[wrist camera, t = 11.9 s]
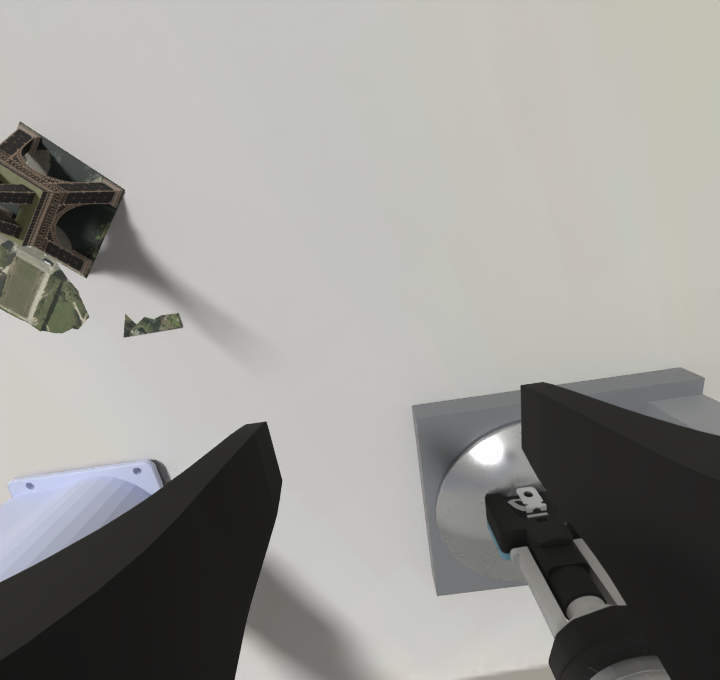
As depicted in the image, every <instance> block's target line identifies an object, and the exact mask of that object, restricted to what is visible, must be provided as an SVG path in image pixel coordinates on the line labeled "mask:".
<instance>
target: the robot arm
mask: <svg viewBox="0 0 720 680" xmlns="http://www.w3.org/2000/svg"><path fill="white" fill-rule="evenodd" d="M521 446H522V450H523V452H524V454H525V456H526V458H527V459H528V461H529V463H530V465H531V467H532V469H533V470H534V472H535V474H536V476H537V477H538V479H539V481H540V482H541V484H542V485H543V486H544V488H545V489H546V491H547V492H548V493H549V495H550V496H551V497H552V499H553V500H554V502H555V503H556V504H557V506H558V507H559V508H560V510H561V511H562V512H563V514H564V515H565V516H566V518H567V519H568V520H569V522H570V523H571V524H572V526H573V527H574V529H575V530H576V531H577V533H578V534H579V535H580V537H581V538H582V539H583V541H584V542H585V543H586V545H587V546H588V547H589V549H590V550H591V551H592V553H593V554H594V555H595V557H596V558H597V560H598V561H599V563H600V564H601V566H602V567H603V568H604V570H605V571H606V573H607V574H608V576H609V577H610V579H611V580H612V582H613V584H614V585H615V587H616V588H617V590H618V592H619V593H620V595H621V597H622V598H623V600H624V601H625V603H626V605H627V606H628V608H629V610H630V611H631V613H632V615H633V616H634V618H635V619H636V621H637V623H638V624H639V626H640V628H641V629H642V631H643V633H644V635H645V636H646V638H647V640H648V641H649V643H650V645H651V647H652V648H653V650H654V652H655V653H656V655H657V657H658V658H659V660H660V662H661V664H662V665H663V667H664V669H665V670H666V672H667V674H668V676H669V677H670V679H671V680H720V436H719V435H715V434H710V433H706V432H702V431H698V430H695V429H691V428H687V427H683V426H680V425H676V424H673V423H670V422H666V421H663V420H660V419H656V418H653V417H650V416H646V415H643V414H640V413H637V412H634V411H631V410H628V409H625V408H622V407H619V406H616V405H613V404H610V403H607V402H604V401H601V400H598V399H595V398H592V397H589V396H587V395H584V394H581V393H578V392H575V391H572V390H569V389H566V388H563V387H560V386H556V385H553V384H549V383H545V382H540V383H533V384H526V385H521ZM137 468H139V469H140V470H138V469H137ZM281 487H282V478H281V474H280V470H279V466H278V463H277V459H276V455H275V451H274V448H273V444H272V440H271V437H270V433H269V429H268V425H267V422H260V423H253V424H246V425H244V426H243V427H241V428H239V429H238V430H237V431H235V432H234V433H232V434H231V435H230V436H229V437H227V438H226V439H225V440H223V441H222V442H221V443H220V444H218V445H217V446H216V447H215V448H213V449H212V450H211V451H209V452H208V453H207V454H206V455H204V456H203V457H202V458H201V459H199V460H198V461H197V462H196V463H194V464H193V465H192V466H190V467H189V468H188V469H186V470H185V471H184V472H182V473H181V474H180V475H178V476H177V477H176V478H174V479H173V480H171V481H170V482H169V483H167V484H166V485H165V486H164V485H163V483H162V480H161V478H160V475H159V472H158V470H157V467H156V465H155V464H154V463H153V462H152V461H150V460H142V461H134V462H127V463H120V464H113V465H106V466H99V467H92V468H85V469H77V470H70V471H63V472H56V473H49V474H42V475H35V476H28V477H20V478H15V479H13V480H12V481H11V482H9V483H8V490H9V491H10V493H11V495H12V497H11V498H10V499H9V500H8V501H6V502H5V503H4V504H2V505H1V506H0V680H235V675H236V669H237V664H238V660H239V655H240V650H241V645H242V640H243V635H244V630H245V625H246V621H247V617H248V613H249V609H250V605H251V601H252V598H253V594H254V591H255V588H256V584H257V581H258V578H259V574H260V571H261V568H262V564H263V561H264V558H265V554H266V551H267V548H268V544H269V541H270V538H271V534H272V531H273V527H274V524H275V520H276V517H277V512H278V506H279V500H280V494H281Z"/></svg>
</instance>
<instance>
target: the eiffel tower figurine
mask: <svg viewBox="0 0 720 680" xmlns="http://www.w3.org/2000/svg"><path fill="white" fill-rule="evenodd" d="M124 192H125V190H124V189H123V188H121V187H120V186H118V185H117V184H115V183H114V182H112V181H111V180H109V179H107V178H106V177H104V176H103V175H101V174H100V173H98V172H97V171H95V170H94V169H92V168H91V167H89V166H88V165H86V164H85V163H83V162H81V161H80V160H78V159H77V158H75V157H74V156H72V155H71V154H69V153H68V152H66V151H65V150H63V149H62V148H60V147H58V146H57V145H55V144H54V143H52V142H51V141H49V140H48V139H46V138H45V137H43V136H42V135H40V134H39V133H37V132H35V131H34V130H32V129H31V128H29V127H28V126H26V125H25V124H23V123H22V122H20V123H19V125H18V127H17V130H16V131H15V132H14V133H13V134H11V135H10V136H9V137H8V138H7V139H6V140H4V141H3V142H2V143H1V144H0V309H2V310H3V311H5V312H7V313H9V314H11V315H13V316H15V317H17V318H19V319H21V320H23V321H25V322H27V323H29V324H30V325H32V326H33V327H35V328H36V329H38V330H39V331H48V332H53V333H64V332H66V331H68V330H70V329H72V328H73V329H79V328H80V327H81V325H82V324H83V323H84V322H85V321H86V320H87V319H88V318H89V315H88V313H87V311H86V309H85V306H84V304H83V302H82V300H81V298H80V296H79V292H78V290H77V289H76V288H75V287H74V286H73V284H72V283H71V282H70V281H69V280H68V278H67V277H66V276H65V274H64V273H63V272H62V270H61V269H60V267H59V266H58V264H57V262H59V263H61V264H63V265H64V266H66V267H68V268H69V269H71V270H73V271H75V272H76V273H78V274H80V275H81V276H83V277H85V278H86V279H87V276H88V274H89V272H90V269H91V267H92V265H93V263H94V260H95V258H96V256H97V253H98V251H99V249H100V247H101V244H102V242H103V240H104V237H105V235H106V233H107V231H108V228H109V226H110V224H111V221H112V219H113V217H114V215H115V212H116V210H117V208H118V206H119V203H120V201H121V199H122V196H123V194H124ZM55 260H56V261H57V262H56V261H55ZM179 327H182V325H181V321H180V317H179V313H176V314H168V315H161V316H159V317H158V318H156V319H150V318H146V317H144V318H143V319H142V320H141V321H140V322H139V323H138V324H137V325H136V324H135V323H134V322H133V321H132V320H131V319H130V318H129V317H128V316H127V315H126V314H125V326H124V337H129V336H135V335H140V334H145V333H151V332H156V331H162V330H167V329H173V328H179Z"/></svg>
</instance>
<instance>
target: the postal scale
mask: <svg viewBox="0 0 720 680" xmlns="http://www.w3.org/2000/svg"><path fill="white" fill-rule="evenodd" d="M704 380H705V378H704V377H702V376H699V375H697V374H695V373H692V372H690V371H688V370H685V369H683V368H674V369H667V370H660V371H653V372H646V373H639V374H632V375H625V376H618V377H611V378H604V379H597V380H590V381H582V382H575V383H568V384H561V385H556V386H560V387H563V388H566V389H569V390H572V391H575V392H578V393H581V394H584V395H587V396H589V397H592V398H595V399H598V400H601V401H604V402H607V403H610V404H613V405H616V406H619V407H622V408H625V409H628V410H631V411H634V412H637V413H640V414H643V415H646V416H650V417H653V418H656V419H660V420H663V421H666V422H670V423H673V424H676V425H680V426H683V427H687V428H691V429H695V430H698V431H702V432H706V433H710V434H715V435H719V436H720V402H718V401H716V400H714V399H711V398H709V397H707V396H705V395H703V394H702V393H703V386H704ZM412 410H413V418H414V427H415V435H416V443H417V451H418V460H419V468H420V476H421V484H422V492H423V501H424V509H425V517H426V525H427V534H428V542H429V550H430V558H431V567H432V575H433V580H434V584H435V589H436V593H437V596H441V595H450V594H458V593H466V592H474V591H482V590H491V589H499V588H507V587H515V586H524V585H528V583H527V581H526V579H525V577H524V575H523V573H522V571H521V568H520V567H515V566H514V565H513V563H512V561H511V560H510V561H508V560H504V559H502V557H501V556H500V554H499V552H498V549H497V547H496V545H495V542H494V540H493V538H492V536H491V533H490V531H489V529H488V527H487V518H486V507H485V496H487V495H491V494H499V495H501V496H502V497H510V496H516V495H518V494H517V493H516V490H517V489H518V488H524V487H533V488H535V489H536V491H537V492H542V491H546V489H545V488H544V486H543V485H542V484H541V482H540V481H539V479H538V477H537V476H536V474H535V472H534V470H533V469H532V467H531V465H530V463H529V461H528V459H527V458H526V456H525V454H524V452H523V450H522V446H521V390H519V391H512V392H505V393H498V394H491V395H484V396H477V397H470V398H463V399H456V400H449V401H442V402H435V403H428V404H421V405H414V406H412ZM529 493H530V492H525V493H524V494H529Z"/></svg>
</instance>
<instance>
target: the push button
mask: <svg viewBox="0 0 720 680" xmlns="http://www.w3.org/2000/svg"><path fill="white" fill-rule="evenodd" d="M525 492H530V493H529V494H524V493H525ZM516 493H517V494H518V495H516V496H510V497H502V496H501V495H499V494H491V495H487V496H485V507H486V518H487V527H488V529H489V531H490V533H491V536H492V538H493V540H494V542H495V545H496V547H497V549H498V552H499V554H500V556H501V557H502V559H504V560H508V561H510V560H511V561H512V563H513V565H514V566H515V567H520V568H521V571H522V573H523V575H524V577H525V579H526V581H527V583H528V585H529V587H530V589H531V591H532V593H533V595H534V597H535V600H536V602H537V604H538V606H539V608H540V610H541V612H542V614H543V616H544V618H545V620H546V622H547V624H548V626H549V628H550V631H551V633H552V635H553V637H554V639H555V640H554V643H553V647H552V650H551V654H550V657H549V666H550V668H551V670H552V672H553V675H554V677H555V679H556V680H671V679H670V677H669V676H668V674H667V672H666V670H665V669H664V667H663V665H662V664H661V662H660V660H659V658H658V657H657V655H656V653H655V652H654V650H653V648H652V647H651V645H650V643H649V641H648V640H647V638H646V636H645V635H644V633H643V631H642V629H641V628H640V626H639V624H638V623H637V621H636V619H635V618H634V616H633V615H632V613H631V611H630V610H629V608H628V606H627V605H626V603H625V601H624V600H623V598H622V597H621V595H620V593H619V592H618V590H617V588H616V587H615V585H614V584H613V582H612V580H611V579H610V577H609V576H608V574H607V573H606V571H605V570H604V568H603V567H602V566H601V564H600V563H599V561H598V560H597V558H596V557H595V555H594V554H593V553H592V551H591V550H590V549H589V547H588V546H587V545H586V543H585V542H584V541H583V539H582V538H581V537H580V535H579V534H578V533H577V531H576V530H575V529H574V527H573V526H572V524H571V523H570V522H569V520H568V519H567V518H566V516H565V515H564V514H563V512H562V511H561V510H560V508H559V507H558V506H557V504H556V503H555V502H554V500H553V499H552V497H551V496H550V495H549V493H548V492H547V491H542V492H537V491H536V489H535V488H533V487H524V488H518V489H517V490H516ZM566 619H568V620H569V621H568V622H567V620H566Z"/></svg>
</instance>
